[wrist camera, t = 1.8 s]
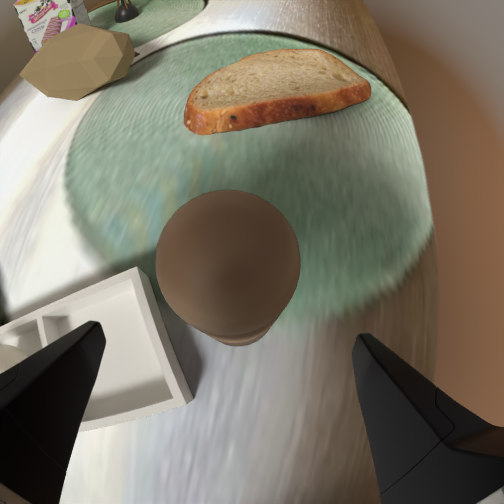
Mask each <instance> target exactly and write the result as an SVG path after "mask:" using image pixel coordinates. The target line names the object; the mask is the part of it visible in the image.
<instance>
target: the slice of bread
mask: <svg viewBox="0 0 504 504" xmlns="http://www.w3.org/2000/svg"><path fill="white" fill-rule="evenodd" d="M370 96H371V86H370V84H369V82H368V81H367V80H366V79H364V78H362V77H361V76H359V75H358V74H356V73H355V72H354V71H353V70H352V69H351V68H349V67H348V66H347V65H346V64H344V63H343V62H342V61H340V60H339V59H338V58H336V57H334V56H332V55H331V54H329V53H327V52H324V51H322V50H319V49H280V50H274V51H268V52H265V53H257V54H254V55H250V56H247V57H244V58H242V59H241V60H240V61H238V62H237V63H234V64H231V65H229V66H227V67H224V68H221V69H219V70H217V71H215V72H214V73H212V74H210V75H209V76H207V77H206V78H205V79H204V80H203V81H202V82H200V83H199V84H198V85H197V86H196V87H194V88H193V90H192V92H191V93H190V95H189V98H188V100H187V104H186V108H185V112H184V124H185V126H186V127H187V129H189V130H190V131H192V132H193V133H195V134H198V135H211V134H214V133H224V132H230V131H241V130H245V129H248V128H255V127H261V126H264V125H267V124H274V123H279V122H282V121H289V120H296V119H301V118H305V117H310V116H317V115H320V114H324V113H331V112H335V111H338V110H342V109H344V108H346V107H348V106H351V105H354V104H357V103H361V102H363V101H366V100H367V99H369V98H370Z"/></svg>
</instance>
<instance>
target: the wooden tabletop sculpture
mask: <svg viewBox="0 0 504 504" xmlns="http://www.w3.org/2000/svg"><path fill="white" fill-rule="evenodd" d="M128 1H129V3H130V4H128V3H126V0H121V4H122V5H121V6H120V7H119V0H117V6H118V10H117V12H116V15H115V20H116V23H121V22H126V21H129V20H131V19H134V18H135V17H137V16H138V14H139V13H138V10H137V8H136V7H135V6H134V5H132V3H131V1H130V0H128Z"/></svg>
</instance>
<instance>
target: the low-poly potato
mask: <svg viewBox="0 0 504 504" xmlns="http://www.w3.org/2000/svg"><path fill="white" fill-rule="evenodd" d="M138 55H140V54H139V53H136V52H134V49H133V46H132V43H131V40H130V36H129V34H126V33H121V32H116V31H110V30H106V29H103V28H99V27H95V26H91V25H86V24H82V23H79V24H77V25H74V26H72V27H70V28H68V29H66V30H64V31H62V32H60V33H58V34H56V35H54V36H53V37H51V38H49V39H48V40H47V41H46V42H45V43H44V45H43V46H42V47H41V48H40V49H39V50H38V52H37V53H36V54H35V55H34V56H33V58H32V59H31V60H30V61H29V63H28V64H27V65H26V67H25V68H24V69H23V71H22V72H21V73H20V76H21V77H23V78H24V79H25V80H27V81H28V82H29V83H30V84H32V85H33V86H34V87H36V88H37V89H38V90H40V91H41V92H42V93H43V94H45V95H46V96H47V97H54V98H61V99H69V100H75V101H77V100H79V99H80V98H82V97H84V96H86V95H87V94H89V93H91V92H93V91H95V90H96V89H98V88H100V87H102V86H104V85H106V84H108V83H111V82H113V81H115V80H118V79H120V78H123V77H126V74H127V72H128V70H129V67H130V65H131V63H132V61H133V59H134V57H136V56H138Z"/></svg>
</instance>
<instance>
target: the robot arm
mask: <svg viewBox="0 0 504 504" xmlns="http://www.w3.org/2000/svg"><path fill="white" fill-rule="evenodd" d="M105 347H106V337H105V334H104V331H103V328H102V325H101V323H100V322H98V321H93V320H89V321H87V322H86V323H84V324H82V325H81V326H79V327H77V328H76V329H74V330H72V331H71V332H69V333H67V334H65V335H64V336H62V337H60V338H59V339H57V340H55V341H54V342H52V343H50V344H49V345H47V346H45V347H44V348H42V349H40V350H39V351H37V352H36V353H34V354H32V355H31V356H29V357H27V358H26V359H24V360H22V361H21V362H19V363H17V364H16V365H14V366H13V367H11V368H9V369H8V370H6V371H4V372H2V373H1V374H0V504H59V501H60V497H61V493H62V488H63V484H64V480H65V476H66V471H67V468H68V464H69V461H70V457H71V454H72V450H73V447H74V443H75V440H76V437H77V434H78V431H79V427H80V424H81V421H82V418H83V415H84V412H85V409H86V407H87V404H88V401H89V398H90V395H91V393H92V390H93V387H94V385H95V382H96V379H97V376H98V372H99V368H100V364H101V361H102V357H103V354H104V350H105ZM352 362H353V368H354V375H355V382H356V389H357V394H358V399H359V403H360V406H361V410H362V414H363V418H364V422H365V426H366V431H367V435H368V439H369V443H370V448H371V452H372V457H373V461H374V466H375V471H376V476H377V481H378V486H379V491H380V494H381V495H380V497H381V502H382V504H504V427H499V426H494V425H492V424H490V423H488V422H486V421H485V420H483V419H481V418H480V417H479V416H477V415H476V414H474V413H472V412H471V411H469V410H468V409H466V408H465V407H463V406H462V405H460V404H459V403H457V402H456V401H454V400H453V399H452V398H451V397H449V396H448V395H447V394H445V393H444V392H443V391H442V390H440V389H439V388H438V387H436V386H435V385H434V384H433V383H432V382H430V381H429V380H428V379H427V378H425V377H424V376H423V375H422V374H420V373H419V372H418V371H417V370H415V369H414V368H413V367H412V366H410V365H409V364H408V363H407V362H405V361H404V360H403V359H402V358H400V357H399V356H398V355H397V354H395V353H394V352H393V351H391V350H390V349H389V348H388V347H386V346H385V345H384V344H383V343H381V342H380V341H379V340H378V339H376V338H375V337H374V336H373V335H371V334H370V333H360V334H358V335H357V337H356V341H355V344H354V347H353V350H352Z"/></svg>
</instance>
